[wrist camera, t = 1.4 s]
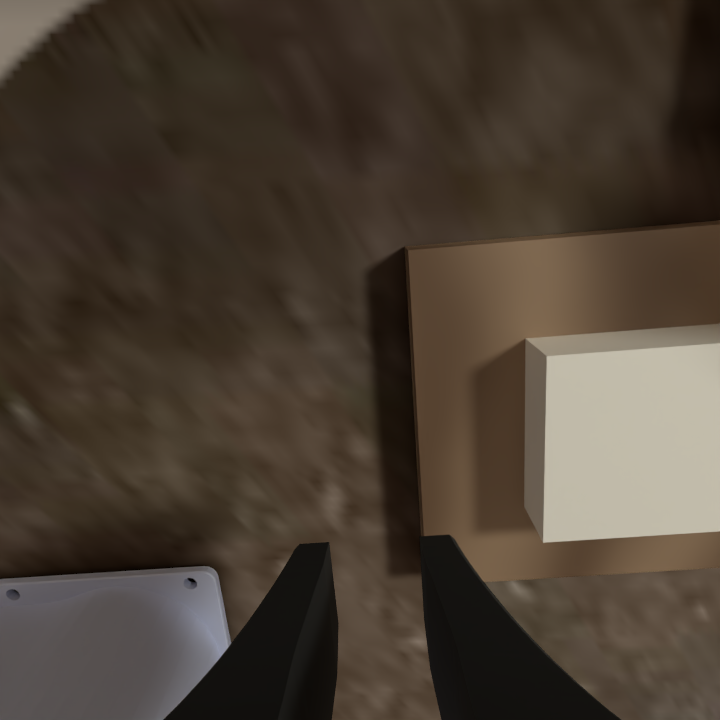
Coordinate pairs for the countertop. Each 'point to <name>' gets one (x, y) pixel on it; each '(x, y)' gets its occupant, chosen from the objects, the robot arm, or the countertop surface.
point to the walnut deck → (507, 378)
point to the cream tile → (623, 433)
